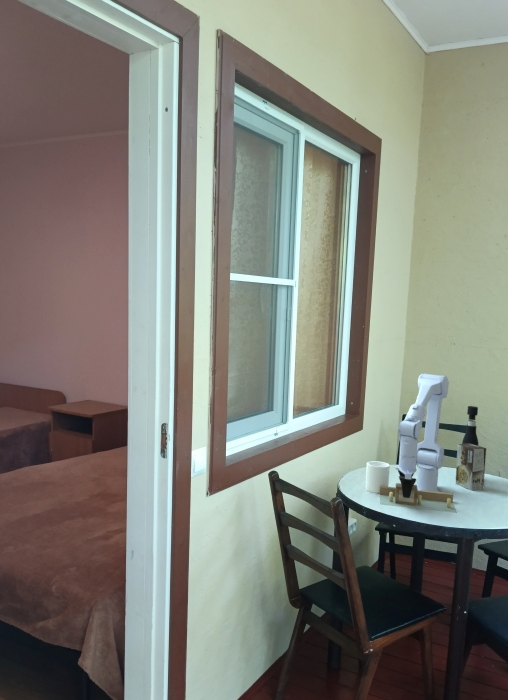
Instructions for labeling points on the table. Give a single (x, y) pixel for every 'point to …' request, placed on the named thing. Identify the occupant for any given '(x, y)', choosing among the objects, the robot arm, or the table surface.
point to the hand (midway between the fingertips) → (405, 494)
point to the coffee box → (470, 466)
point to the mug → (376, 476)
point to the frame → (407, 501)
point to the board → (420, 499)
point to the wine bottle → (471, 427)
